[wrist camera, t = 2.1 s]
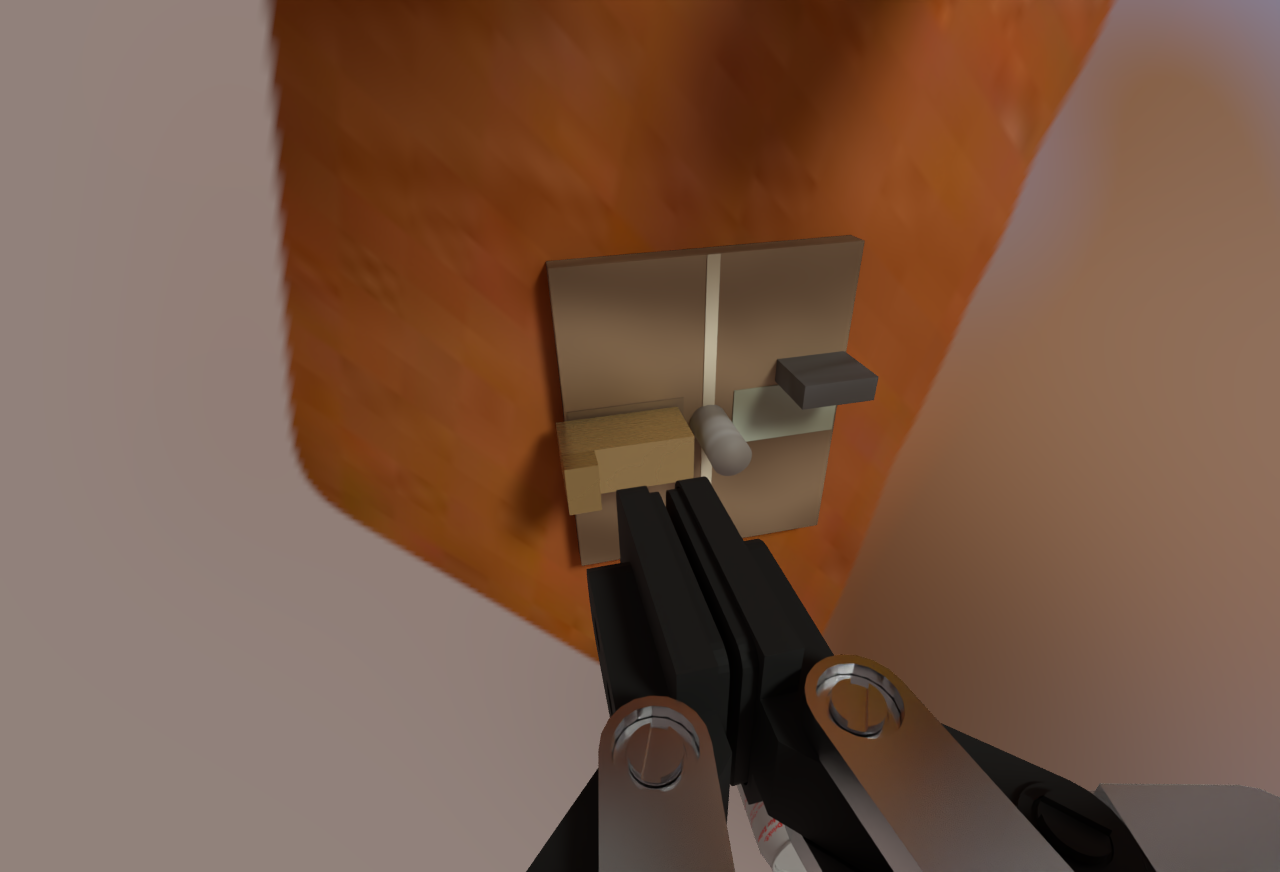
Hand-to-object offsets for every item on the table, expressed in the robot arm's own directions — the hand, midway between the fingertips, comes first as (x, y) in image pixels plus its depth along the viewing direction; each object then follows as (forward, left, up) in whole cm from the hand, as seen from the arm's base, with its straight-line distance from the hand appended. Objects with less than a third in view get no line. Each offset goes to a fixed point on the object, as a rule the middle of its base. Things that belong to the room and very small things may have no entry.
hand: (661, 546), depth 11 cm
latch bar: (+5, +1, -12) cm, 13 cm away
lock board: (+5, +5, -13) cm, 15 cm away
